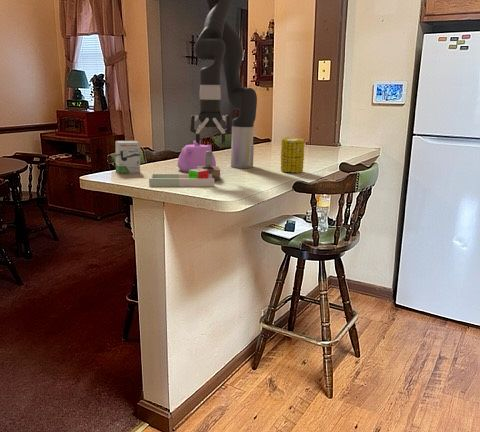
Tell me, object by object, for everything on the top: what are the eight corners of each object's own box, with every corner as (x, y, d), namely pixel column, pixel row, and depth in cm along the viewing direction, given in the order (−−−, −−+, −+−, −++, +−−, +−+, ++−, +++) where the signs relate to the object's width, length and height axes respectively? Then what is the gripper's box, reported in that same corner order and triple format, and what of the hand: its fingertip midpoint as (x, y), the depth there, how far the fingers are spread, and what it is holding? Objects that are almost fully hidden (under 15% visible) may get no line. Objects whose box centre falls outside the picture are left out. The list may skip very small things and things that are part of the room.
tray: (178, 180, 170) (178, 173, 169) (179, 186, 160) (179, 178, 160) (150, 180, 168) (150, 173, 168) (149, 186, 159) (149, 178, 158)
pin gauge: (211, 178, 177) (211, 151, 174) (211, 179, 174) (212, 152, 172) (204, 178, 176) (205, 151, 174) (205, 179, 174) (205, 152, 171)
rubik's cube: (197, 185, 162) (197, 171, 161) (188, 183, 165) (188, 169, 164) (208, 184, 166) (208, 170, 164) (199, 182, 169) (199, 168, 168)
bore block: (217, 176, 180) (217, 166, 179) (219, 180, 172) (220, 169, 171) (196, 176, 178) (196, 166, 177) (197, 180, 171) (198, 169, 170)
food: (303, 174, 200) (297, 179, 191) (277, 166, 203) (270, 170, 194) (313, 140, 194) (308, 143, 185) (287, 131, 197) (280, 134, 188)
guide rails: (211, 180, 172) (211, 173, 171) (214, 186, 162) (214, 178, 161) (178, 180, 170) (178, 173, 169) (179, 186, 160) (179, 178, 160)
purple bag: (200, 176, 180) (200, 144, 177) (165, 172, 186) (165, 141, 183) (225, 168, 199) (226, 140, 196) (194, 165, 206) (194, 137, 203)
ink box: (118, 173, 180) (117, 142, 177) (115, 171, 184) (114, 140, 181) (141, 172, 184) (140, 141, 181) (137, 170, 188) (136, 140, 185)
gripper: (228, 98, 172) (228, 142, 177) (189, 97, 170) (190, 143, 174) (231, 98, 165) (231, 145, 169) (190, 98, 163) (191, 145, 167)
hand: (210, 144), depth 172 cm, fingers open, 8 cm apart
